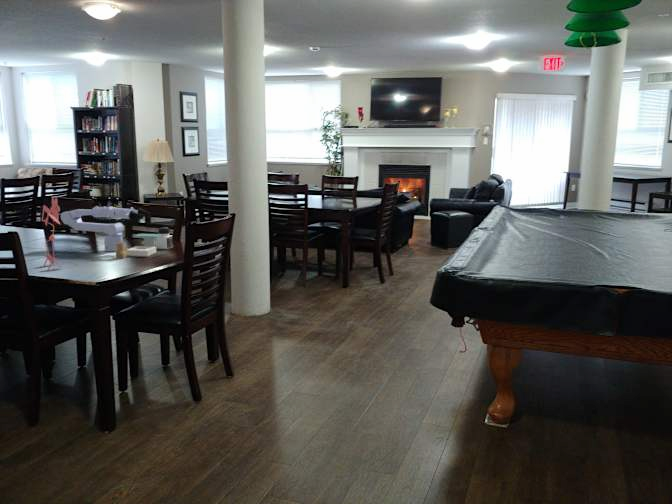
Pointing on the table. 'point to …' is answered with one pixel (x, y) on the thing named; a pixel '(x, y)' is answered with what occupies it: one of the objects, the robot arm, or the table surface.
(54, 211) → the figurine
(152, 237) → the awning
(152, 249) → the socket block
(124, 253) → the oak peg
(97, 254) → the table surface
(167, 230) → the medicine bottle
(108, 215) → the robot arm
